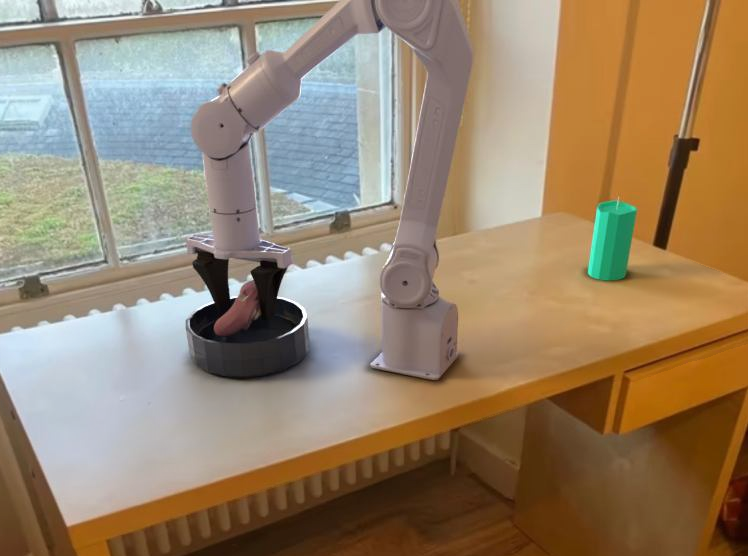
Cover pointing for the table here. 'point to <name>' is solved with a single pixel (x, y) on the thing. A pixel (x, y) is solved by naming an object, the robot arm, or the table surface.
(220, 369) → the dark round bowl
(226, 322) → the pink curved piece
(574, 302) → the table surface
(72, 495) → the table surface
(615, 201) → the candle
